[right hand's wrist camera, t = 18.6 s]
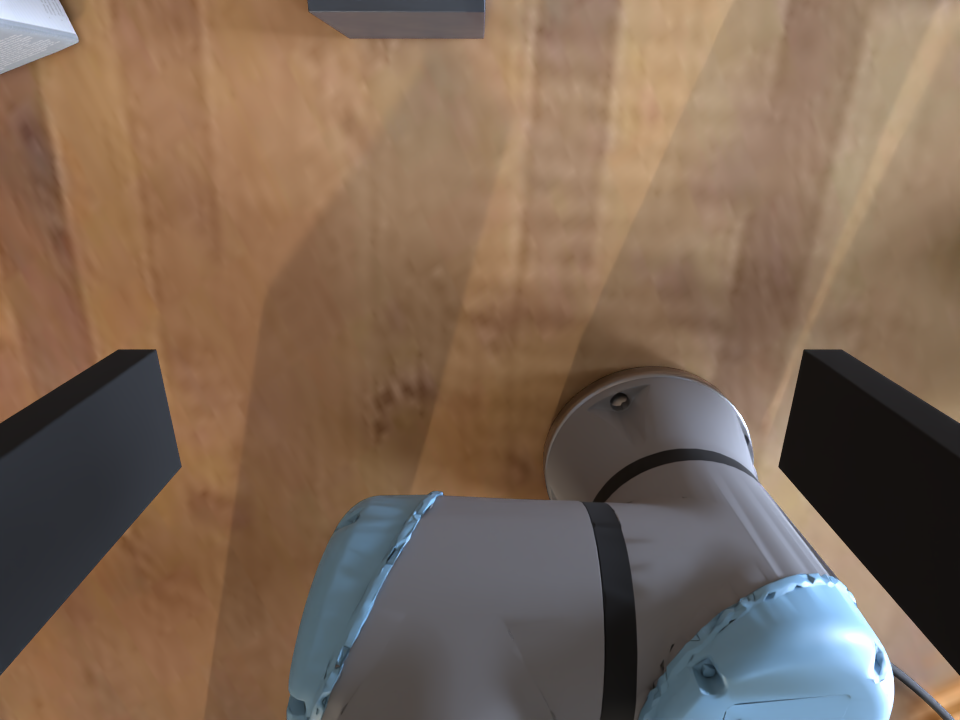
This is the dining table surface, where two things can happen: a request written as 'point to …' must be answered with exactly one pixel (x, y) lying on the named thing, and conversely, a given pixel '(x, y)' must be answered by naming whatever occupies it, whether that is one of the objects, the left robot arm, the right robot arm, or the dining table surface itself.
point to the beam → (402, 18)
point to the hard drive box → (32, 31)
